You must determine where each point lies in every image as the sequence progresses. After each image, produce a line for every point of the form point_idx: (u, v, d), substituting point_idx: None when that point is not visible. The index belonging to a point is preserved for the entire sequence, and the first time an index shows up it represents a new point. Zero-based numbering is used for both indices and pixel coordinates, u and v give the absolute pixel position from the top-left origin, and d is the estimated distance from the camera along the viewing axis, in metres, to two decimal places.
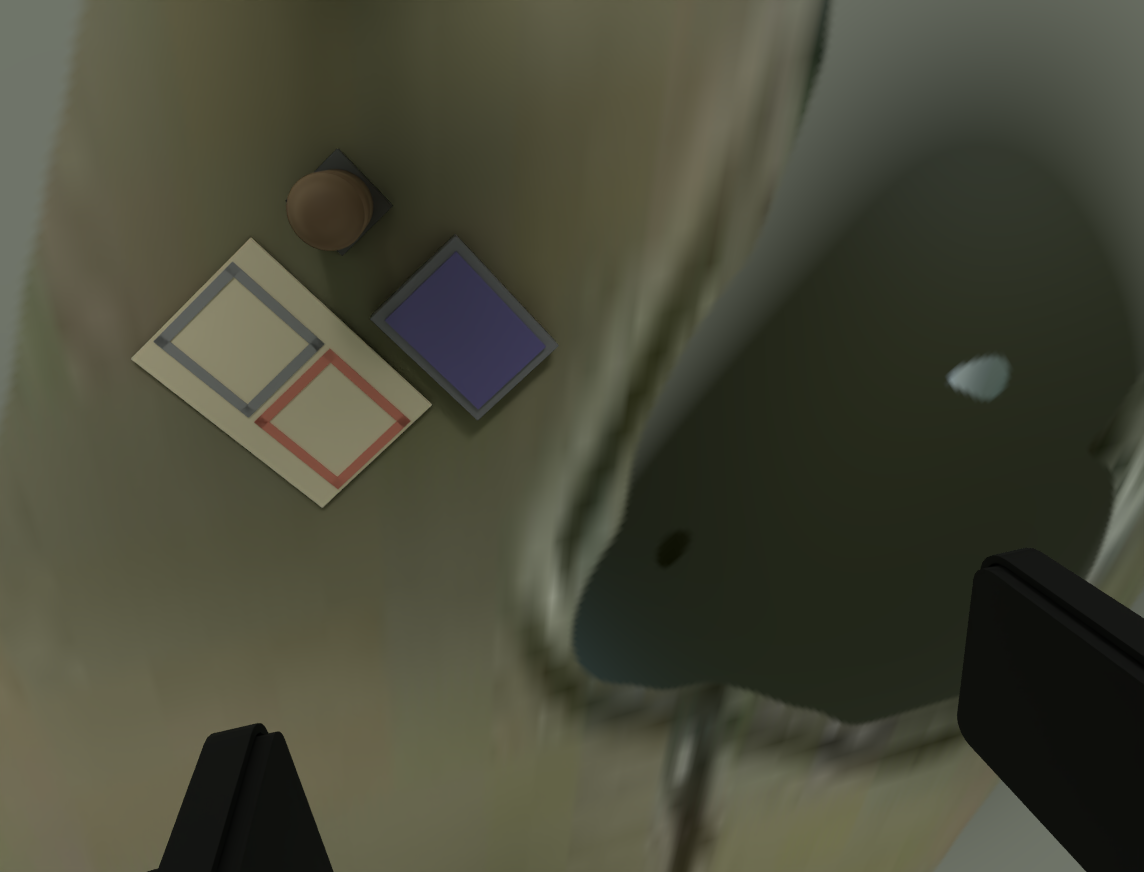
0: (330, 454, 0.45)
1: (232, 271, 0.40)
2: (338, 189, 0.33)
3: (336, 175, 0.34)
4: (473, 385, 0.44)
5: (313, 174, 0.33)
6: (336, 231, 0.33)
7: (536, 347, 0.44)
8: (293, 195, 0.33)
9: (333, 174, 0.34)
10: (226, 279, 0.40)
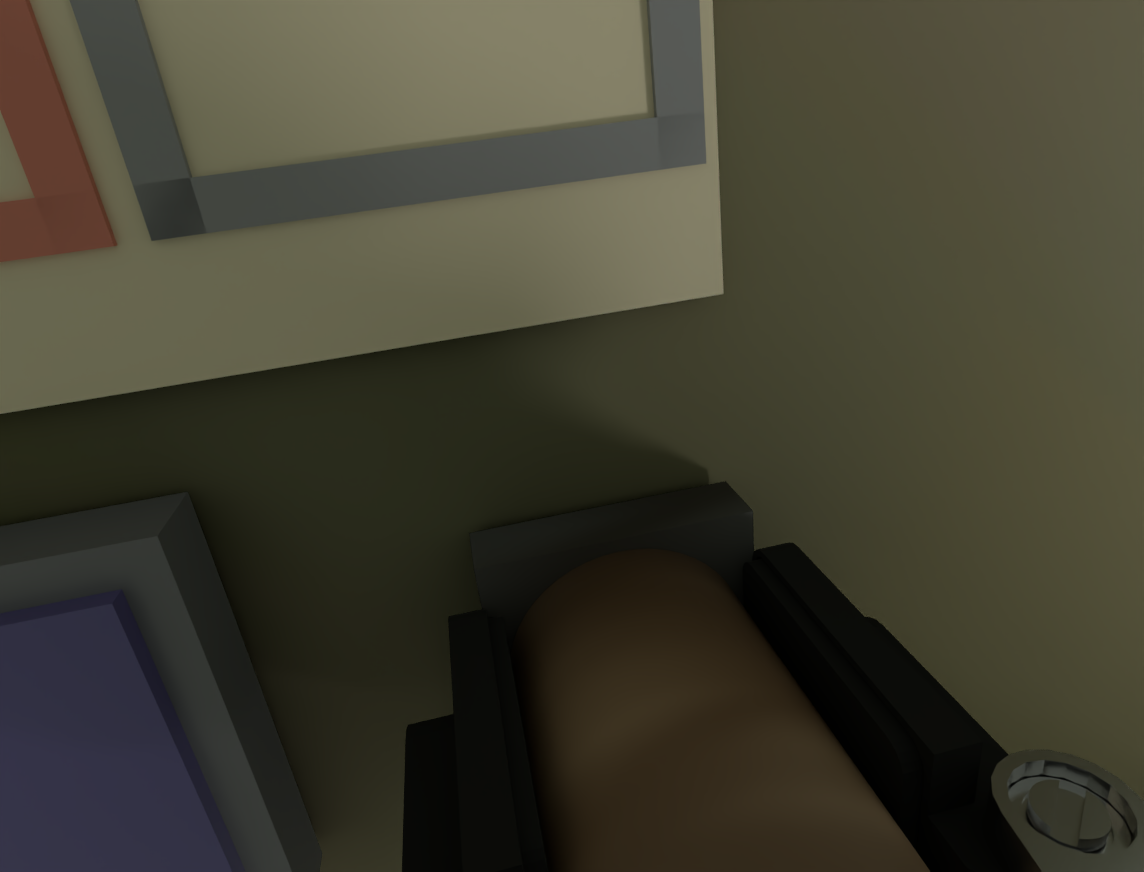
0: None
1: (675, 126, 0.09)
2: None
3: None
4: None
5: None
6: None
7: None
8: None
9: None
10: (667, 78, 0.08)
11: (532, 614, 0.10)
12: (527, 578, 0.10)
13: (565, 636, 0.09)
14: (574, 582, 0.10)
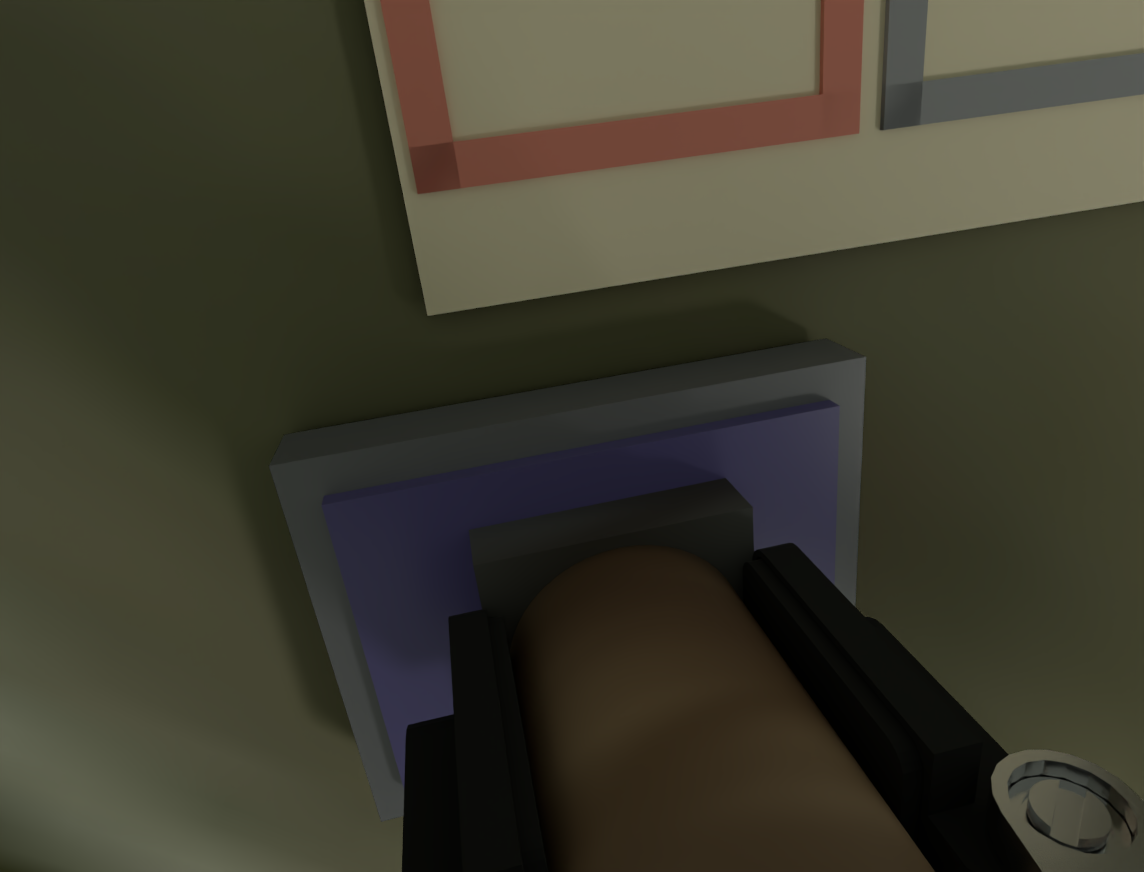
0: None
1: None
2: None
3: None
4: (430, 539, 0.10)
5: None
6: None
7: None
8: None
9: None
10: None
11: (531, 611, 0.10)
12: (526, 575, 0.10)
13: (564, 632, 0.09)
14: (573, 578, 0.10)
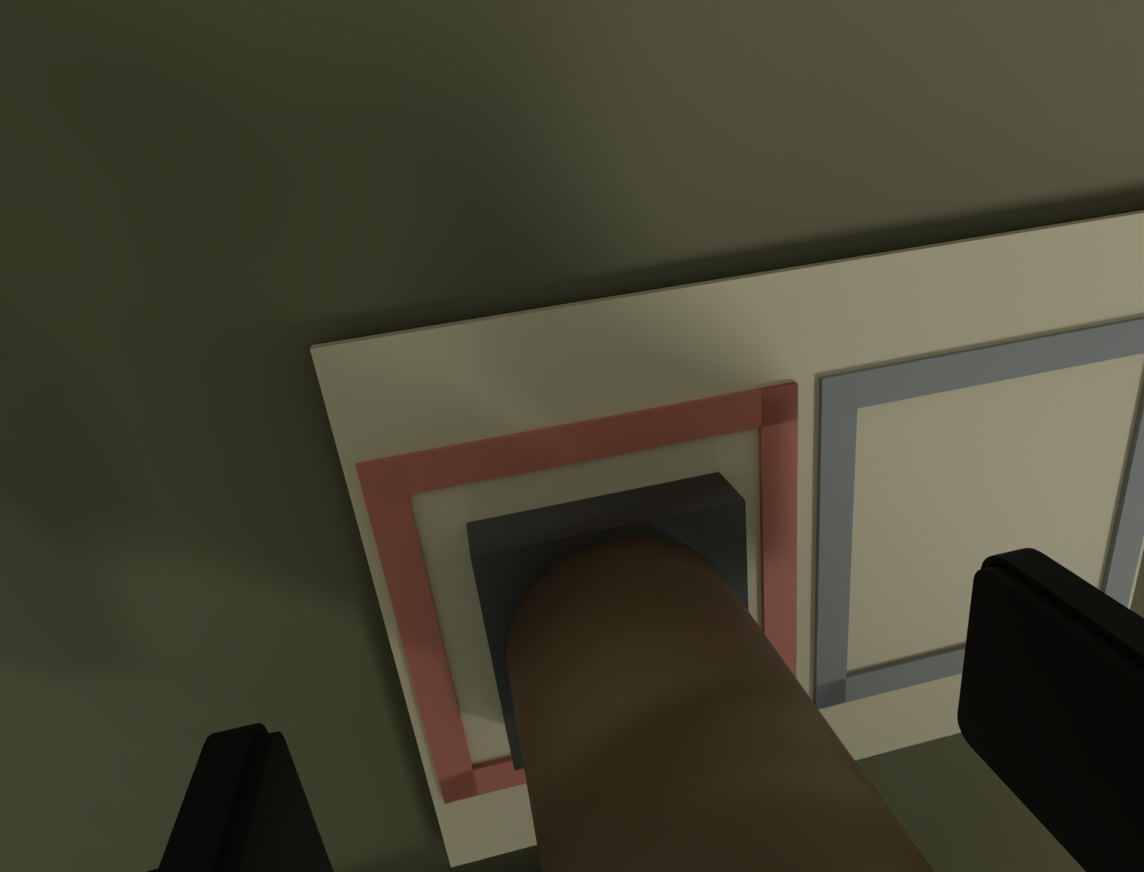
0: None
1: None
2: None
3: None
4: None
5: None
6: None
7: None
8: None
9: None
10: (1111, 596, 0.14)
11: (528, 602, 0.10)
12: (522, 567, 0.10)
13: (560, 622, 0.09)
14: (569, 570, 0.10)
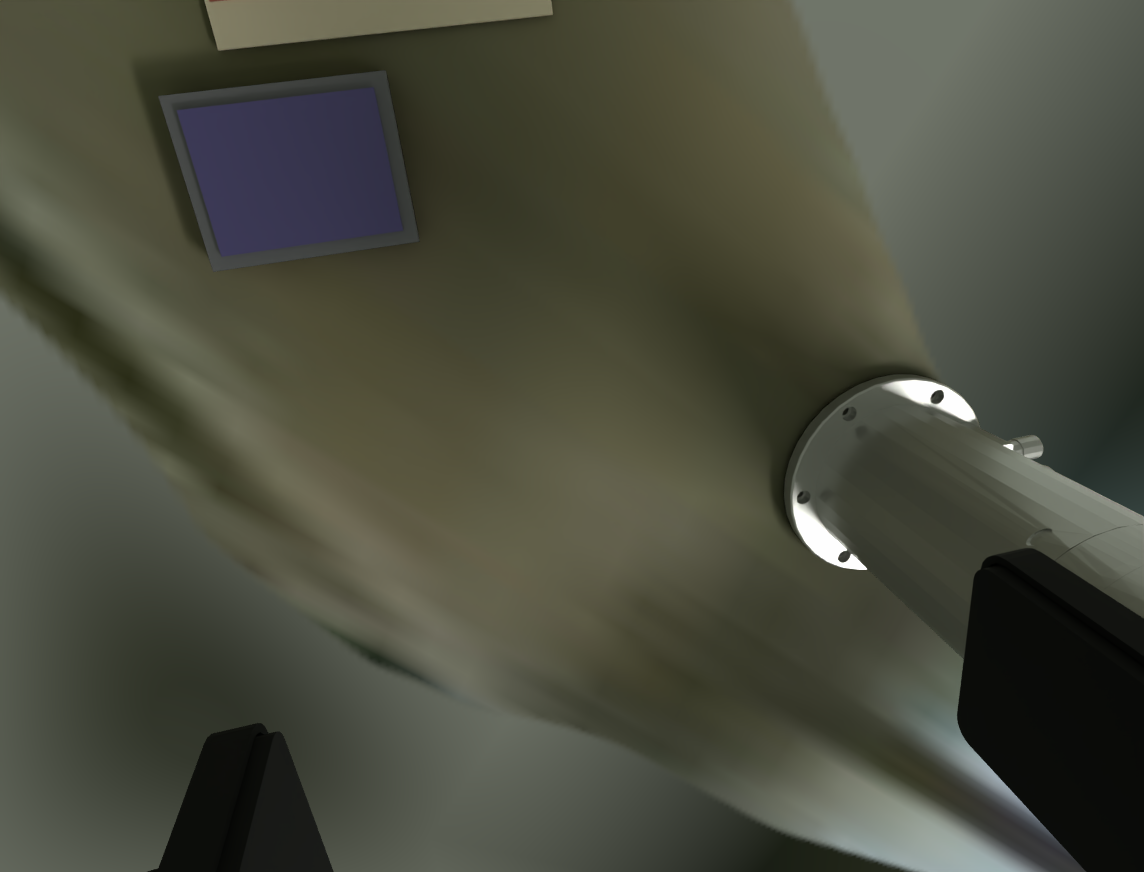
0: None
1: None
2: None
3: None
4: (218, 129, 0.29)
5: None
6: None
7: (227, 244, 0.31)
8: None
9: None
10: None
11: None
12: None
13: None
14: None
